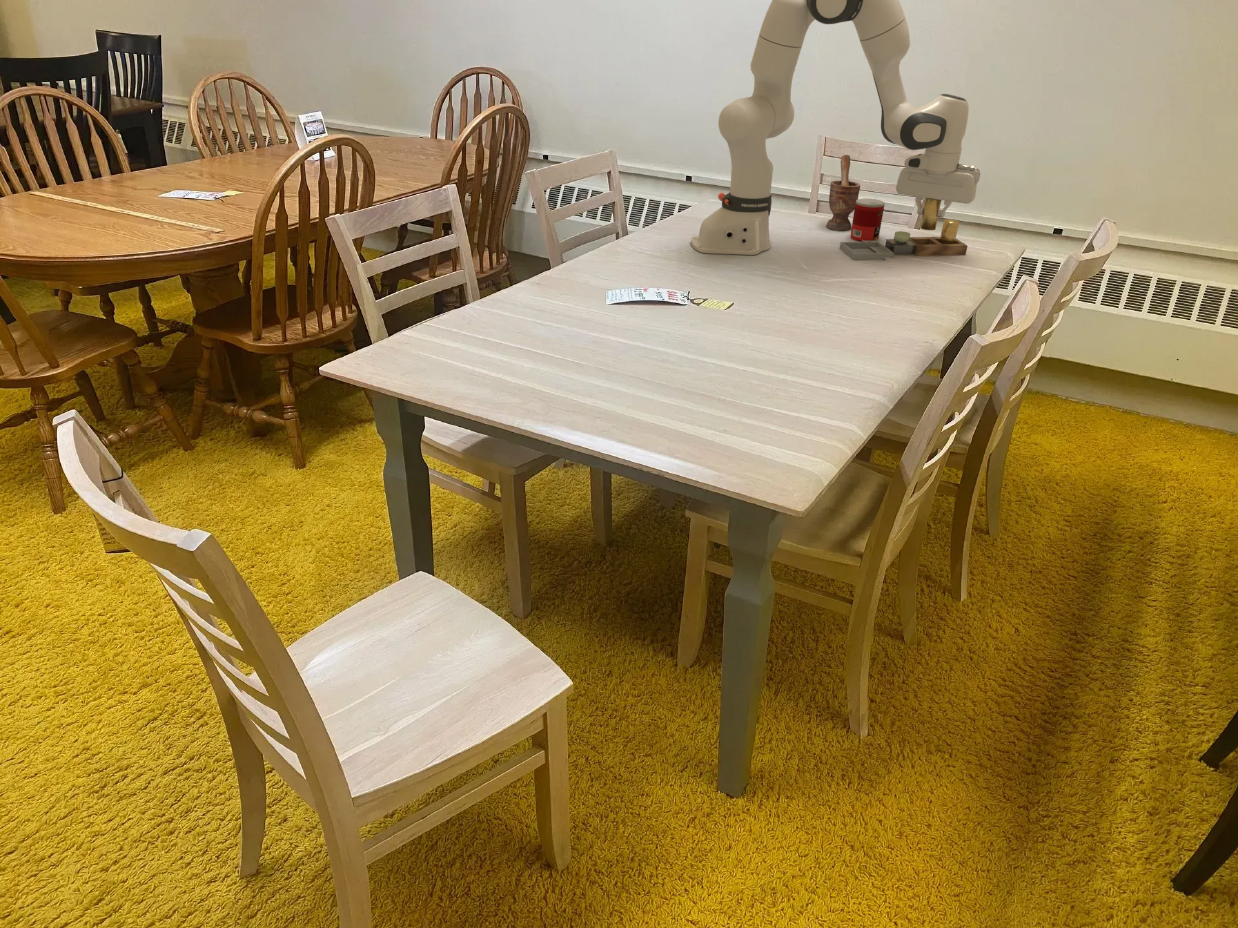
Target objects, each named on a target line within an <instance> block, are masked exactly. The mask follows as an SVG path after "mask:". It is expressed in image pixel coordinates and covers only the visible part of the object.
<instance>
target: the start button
mask: <svg viewBox="0 0 1238 928" xmlns="http://www.w3.org/2000/svg"><path fill="white" fill-rule="evenodd" d="M893 237H894V238H893V239H894V240H895V241H898V244H902V243H904V242H908V241H909V238H910V237H911V233H910V232H908V231H903V230H902V231H895V232H894V236H893Z"/></svg>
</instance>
